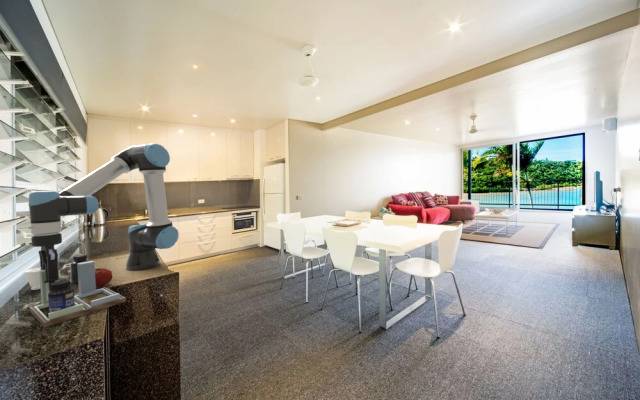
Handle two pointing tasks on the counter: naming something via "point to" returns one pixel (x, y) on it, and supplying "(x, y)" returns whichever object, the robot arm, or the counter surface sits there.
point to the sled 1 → (46, 304)
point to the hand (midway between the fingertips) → (50, 297)
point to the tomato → (102, 276)
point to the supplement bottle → (74, 266)
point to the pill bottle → (61, 296)
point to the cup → (34, 278)
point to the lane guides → (79, 313)
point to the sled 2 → (91, 285)
